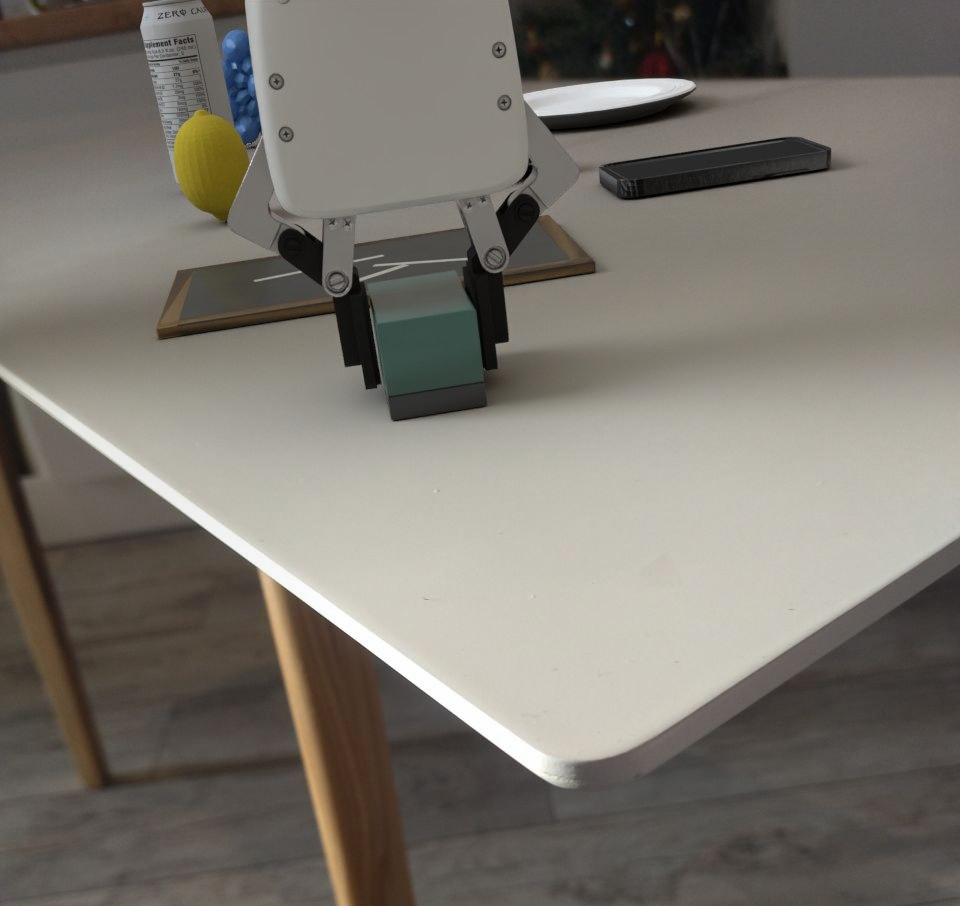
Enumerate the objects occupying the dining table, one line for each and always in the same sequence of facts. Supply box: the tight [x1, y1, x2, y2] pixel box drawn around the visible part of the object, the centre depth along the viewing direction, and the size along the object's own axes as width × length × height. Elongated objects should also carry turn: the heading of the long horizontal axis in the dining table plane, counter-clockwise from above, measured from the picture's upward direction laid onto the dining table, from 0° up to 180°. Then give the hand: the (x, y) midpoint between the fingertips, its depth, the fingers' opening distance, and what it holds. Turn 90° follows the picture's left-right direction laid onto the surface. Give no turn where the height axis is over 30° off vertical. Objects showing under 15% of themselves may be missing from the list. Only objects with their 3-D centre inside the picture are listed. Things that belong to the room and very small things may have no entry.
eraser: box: [367, 270, 488, 421], centre depth 52 cm, size 7×4×4 cm, turn 8°
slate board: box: [155, 214, 597, 340], centre depth 72 cm, size 24×14×1 cm, turn 98°
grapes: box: [221, 29, 262, 144], centre depth 127 cm, size 12×7×12 cm, turn 95°
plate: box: [523, 77, 697, 130], centre depth 119 cm, size 21×21×2 cm
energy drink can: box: [139, 0, 235, 186], centre depth 105 cm, size 6×6×15 cm
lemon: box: [174, 109, 250, 222], centre depth 92 cm, size 6×6×8 cm
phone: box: [598, 136, 832, 199], centre depth 86 cm, size 8×1×15 cm
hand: (428, 366), depth 53 cm, fingers open, 4 cm apart
